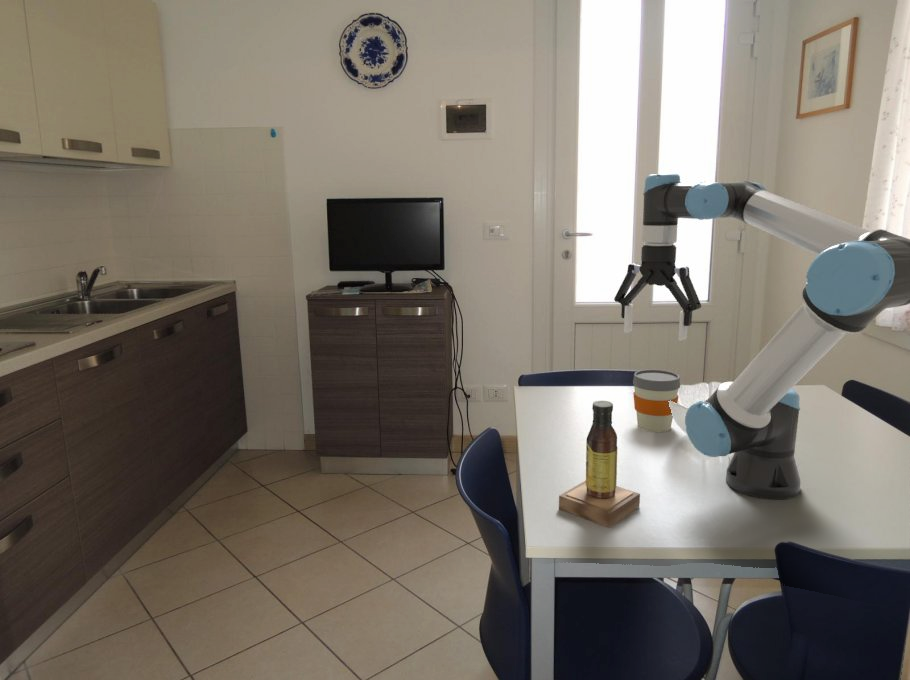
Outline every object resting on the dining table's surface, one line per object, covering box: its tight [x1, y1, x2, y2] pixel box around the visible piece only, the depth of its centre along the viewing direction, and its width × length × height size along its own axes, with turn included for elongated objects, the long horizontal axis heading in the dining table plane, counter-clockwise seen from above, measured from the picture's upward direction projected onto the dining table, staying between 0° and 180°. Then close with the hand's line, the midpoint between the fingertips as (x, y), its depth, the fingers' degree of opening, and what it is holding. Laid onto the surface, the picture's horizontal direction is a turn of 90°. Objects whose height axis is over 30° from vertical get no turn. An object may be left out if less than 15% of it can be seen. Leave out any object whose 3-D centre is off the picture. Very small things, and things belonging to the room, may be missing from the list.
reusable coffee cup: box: [632, 369, 681, 433], centre depth 186 cm, size 13×13×15 cm
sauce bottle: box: [585, 400, 618, 498], centre depth 137 cm, size 6×6×20 cm
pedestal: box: [558, 480, 641, 529], centre depth 140 cm, size 12×12×3 cm
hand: (654, 335), depth 156 cm, fingers open, 13 cm apart
